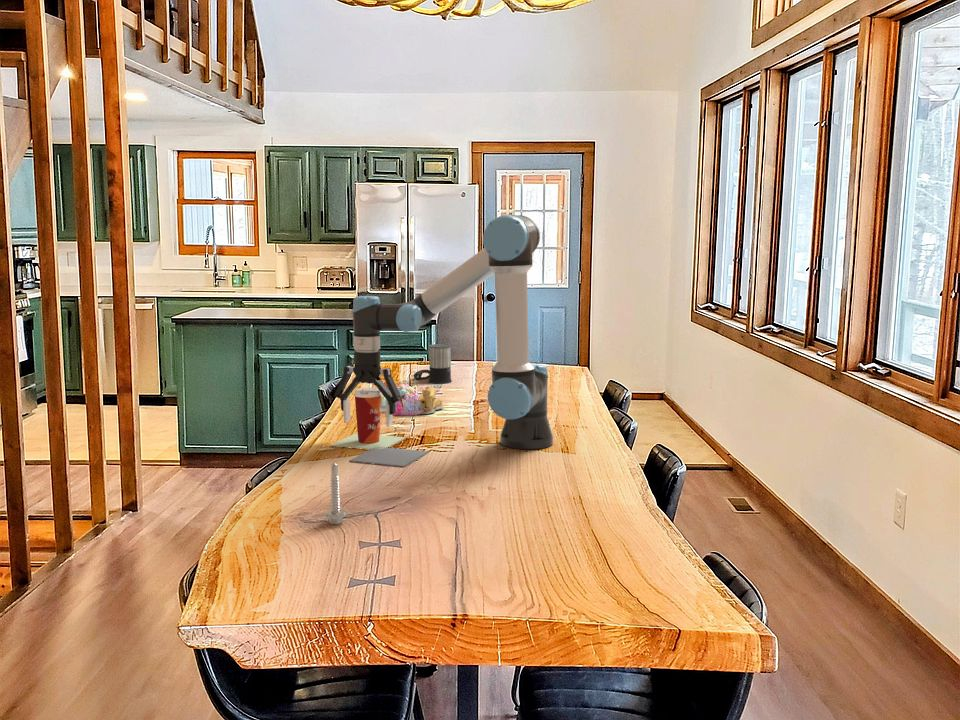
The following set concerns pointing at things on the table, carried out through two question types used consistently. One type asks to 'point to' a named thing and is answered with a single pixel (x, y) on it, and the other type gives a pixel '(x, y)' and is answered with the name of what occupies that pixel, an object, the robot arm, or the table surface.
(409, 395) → the pastel sphere sculpture
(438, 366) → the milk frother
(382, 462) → the pad grey
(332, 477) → the screw
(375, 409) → the coffee cup
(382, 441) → the pad green
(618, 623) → the table surface
